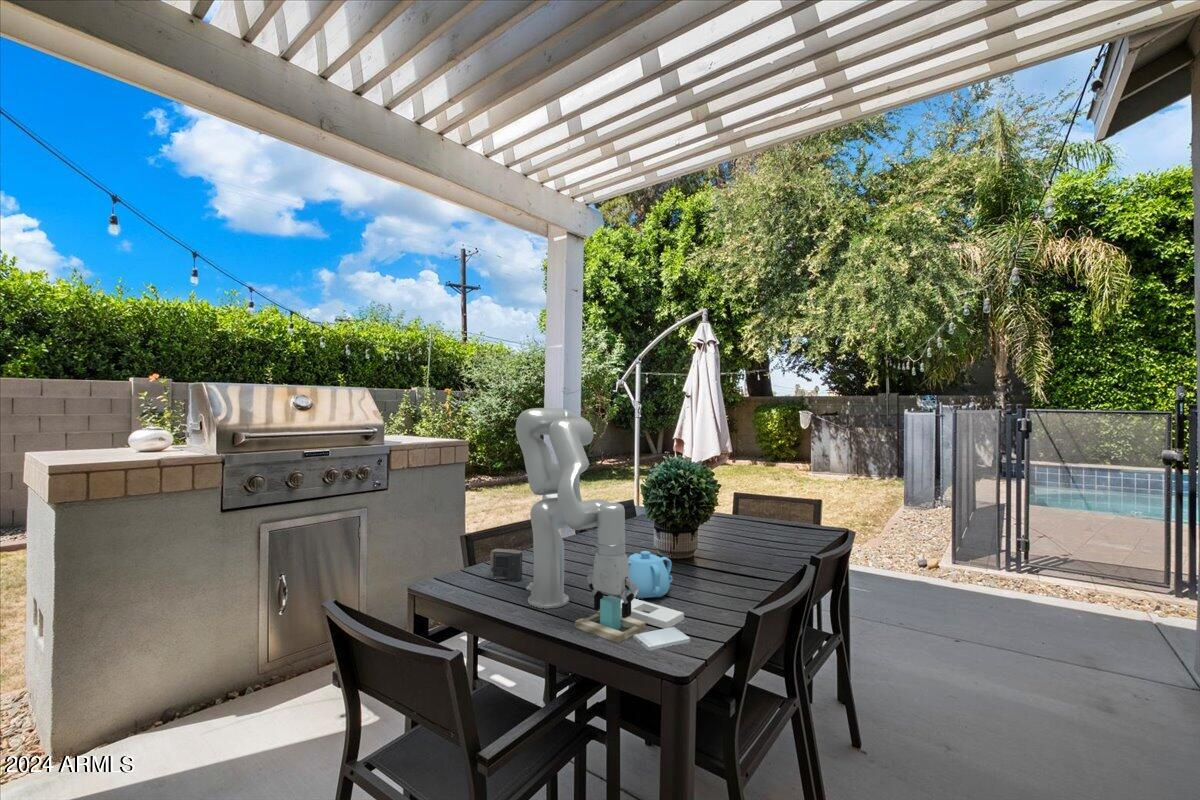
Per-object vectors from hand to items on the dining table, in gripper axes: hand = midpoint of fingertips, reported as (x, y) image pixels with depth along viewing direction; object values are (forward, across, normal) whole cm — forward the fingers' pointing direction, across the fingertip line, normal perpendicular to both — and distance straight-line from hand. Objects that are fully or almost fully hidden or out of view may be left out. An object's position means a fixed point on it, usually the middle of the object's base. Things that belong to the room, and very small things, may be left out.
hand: (612, 612), depth 150 cm
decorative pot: (+4, -10, +29) cm, 31 cm away
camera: (+3, -55, +9) cm, 56 cm away
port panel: (+4, +1, +14) cm, 15 cm away
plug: (+4, -1, 0) cm, 5 cm away
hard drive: (+6, +14, +3) cm, 15 cm away
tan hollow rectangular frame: (+4, -1, 0) cm, 4 cm away
